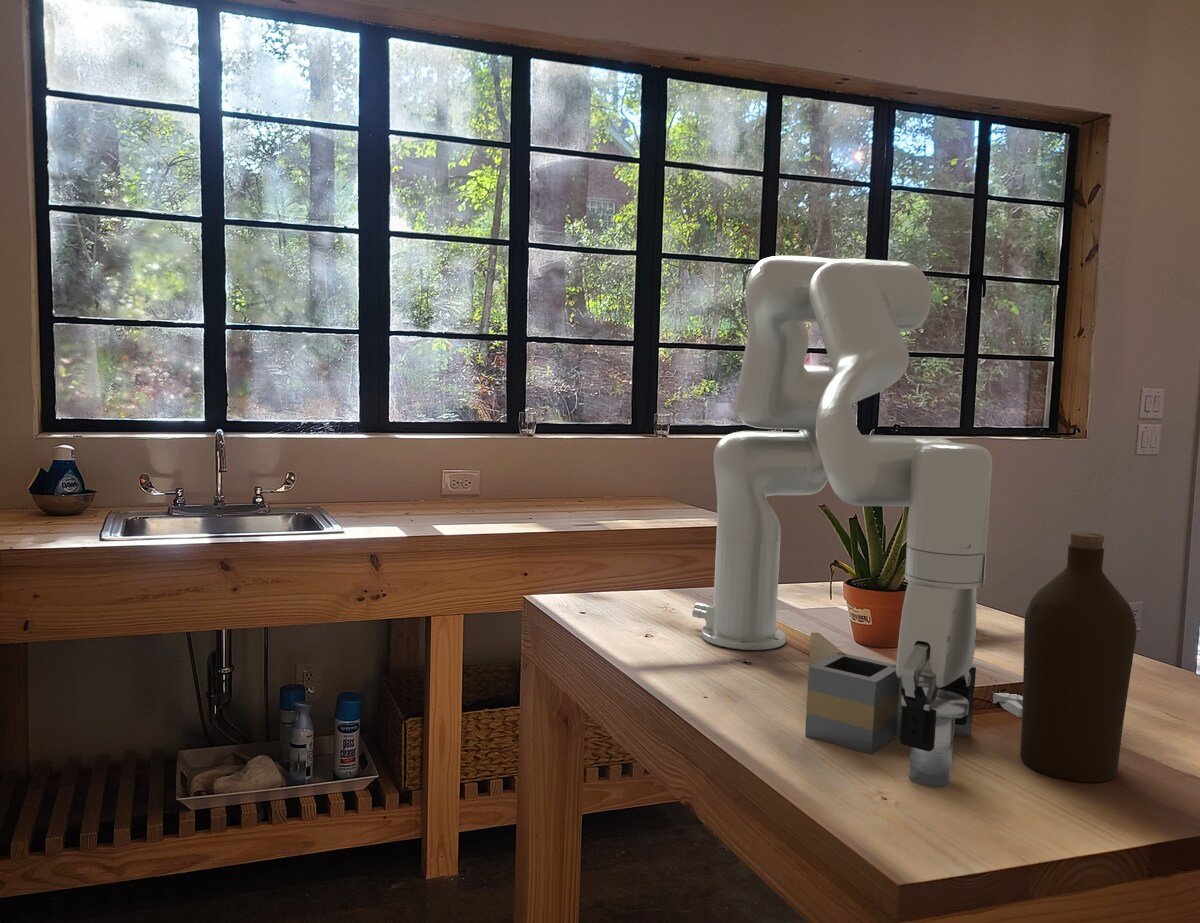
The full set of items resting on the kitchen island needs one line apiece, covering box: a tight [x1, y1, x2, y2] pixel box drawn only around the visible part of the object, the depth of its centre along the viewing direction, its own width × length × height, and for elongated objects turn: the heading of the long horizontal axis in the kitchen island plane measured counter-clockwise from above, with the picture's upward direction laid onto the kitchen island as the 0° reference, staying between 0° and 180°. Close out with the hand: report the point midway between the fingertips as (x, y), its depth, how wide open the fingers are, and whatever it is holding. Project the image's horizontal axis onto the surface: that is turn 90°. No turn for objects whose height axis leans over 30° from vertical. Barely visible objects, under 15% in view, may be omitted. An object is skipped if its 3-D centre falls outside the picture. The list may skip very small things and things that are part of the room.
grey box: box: [804, 632, 977, 755], centre depth 115 cm, size 20×14×8 cm
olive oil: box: [1019, 531, 1138, 784], centre depth 105 cm, size 11×11×25 cm
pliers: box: [992, 692, 1023, 719], centre depth 128 cm, size 10×2×15 cm
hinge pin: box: [908, 688, 969, 788], centre depth 101 cm, size 6×6×8 cm
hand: (934, 734), depth 101 cm, fingers open, 9 cm apart
